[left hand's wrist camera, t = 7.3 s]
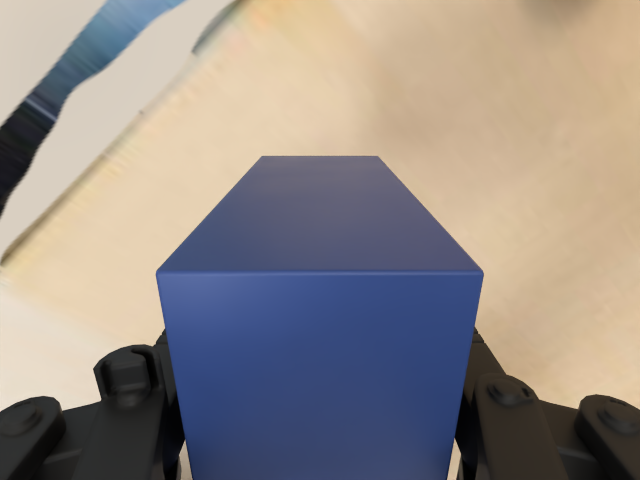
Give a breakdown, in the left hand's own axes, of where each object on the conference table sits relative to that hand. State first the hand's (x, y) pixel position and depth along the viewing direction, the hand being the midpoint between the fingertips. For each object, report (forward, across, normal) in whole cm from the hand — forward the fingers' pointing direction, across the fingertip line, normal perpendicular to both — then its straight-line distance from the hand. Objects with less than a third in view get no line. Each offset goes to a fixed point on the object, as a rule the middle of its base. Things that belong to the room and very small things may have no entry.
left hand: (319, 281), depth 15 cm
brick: (+3, 0, 0) cm, 3 cm away
